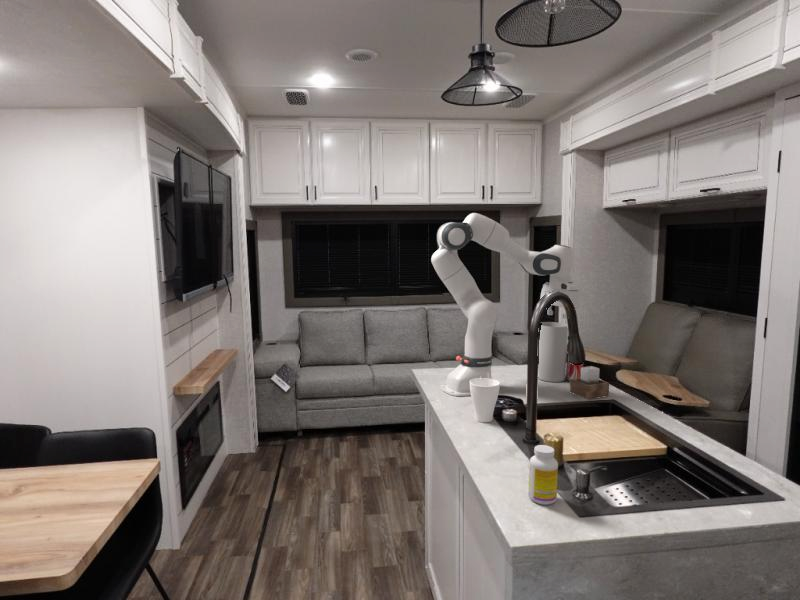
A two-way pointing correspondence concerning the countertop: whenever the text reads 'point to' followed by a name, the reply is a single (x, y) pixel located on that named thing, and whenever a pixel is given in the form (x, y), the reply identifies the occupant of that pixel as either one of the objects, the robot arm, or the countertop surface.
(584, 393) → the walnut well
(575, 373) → the soda can
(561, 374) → the cylinder vase
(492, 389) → the cup
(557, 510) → the countertop surface
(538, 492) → the supplement bottle
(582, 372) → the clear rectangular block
